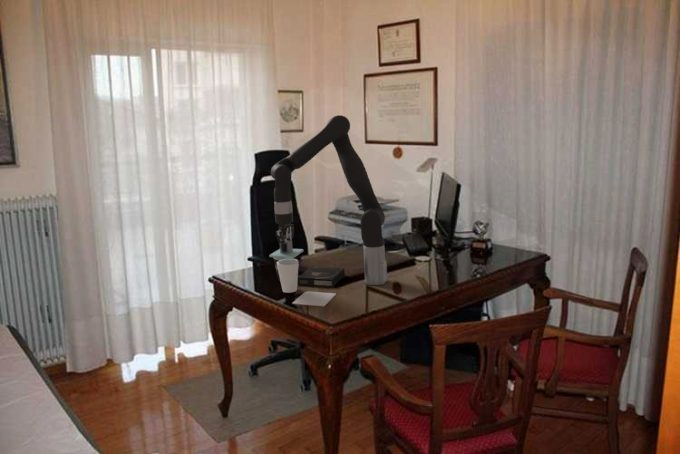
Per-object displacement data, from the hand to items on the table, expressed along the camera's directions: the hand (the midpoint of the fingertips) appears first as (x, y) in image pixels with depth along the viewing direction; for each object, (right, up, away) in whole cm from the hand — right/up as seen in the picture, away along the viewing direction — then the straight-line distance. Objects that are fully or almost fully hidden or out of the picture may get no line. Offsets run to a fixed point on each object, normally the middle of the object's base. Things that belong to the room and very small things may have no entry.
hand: (286, 250), depth 244 cm
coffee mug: (-3, -14, +23) cm, 27 cm away
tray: (+12, -20, -8) cm, 25 cm away
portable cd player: (+15, -15, +15) cm, 26 cm away
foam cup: (+1, -18, +4) cm, 18 cm away
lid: (0, -2, 0) cm, 2 cm away
